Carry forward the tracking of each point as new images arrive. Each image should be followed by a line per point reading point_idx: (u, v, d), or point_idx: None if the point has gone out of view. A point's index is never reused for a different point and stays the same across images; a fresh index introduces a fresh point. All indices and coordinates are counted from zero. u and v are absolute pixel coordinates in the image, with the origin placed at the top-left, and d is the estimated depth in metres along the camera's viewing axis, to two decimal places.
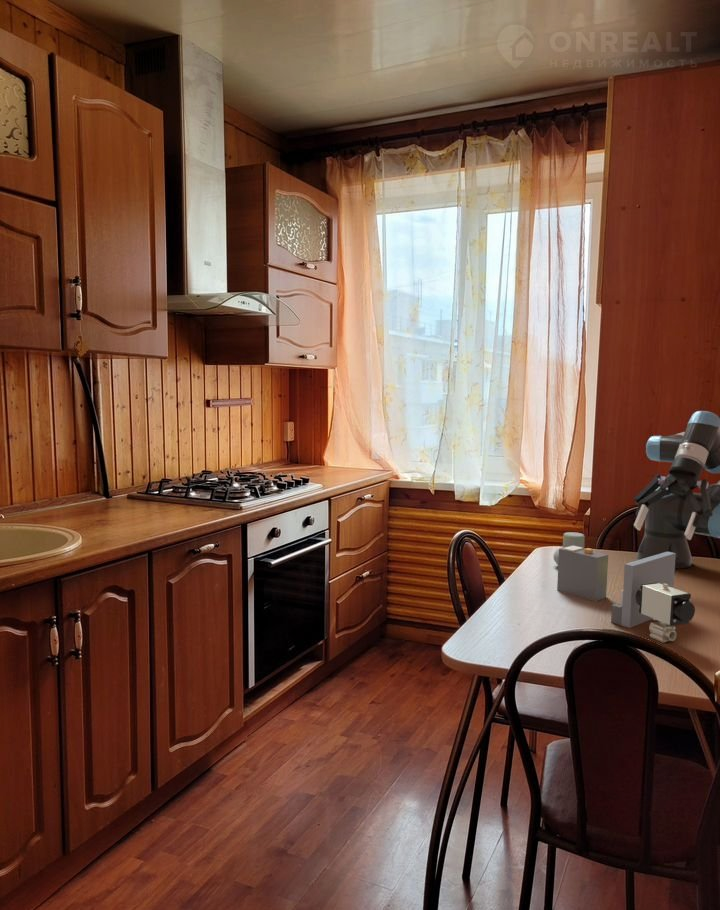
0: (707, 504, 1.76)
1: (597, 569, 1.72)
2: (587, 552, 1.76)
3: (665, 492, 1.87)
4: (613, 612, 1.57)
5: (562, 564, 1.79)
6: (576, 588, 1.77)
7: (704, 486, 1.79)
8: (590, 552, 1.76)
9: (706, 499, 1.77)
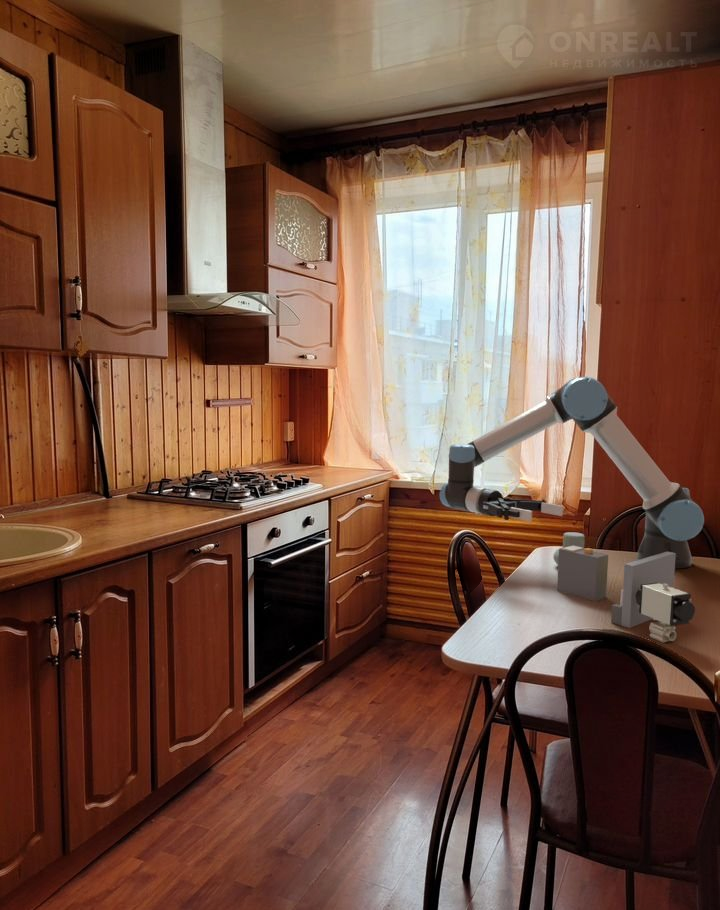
0: None
1: (597, 569, 1.72)
2: (587, 552, 1.76)
3: (518, 505, 1.96)
4: (613, 612, 1.57)
5: (562, 564, 1.79)
6: (576, 588, 1.77)
7: (488, 511, 1.92)
8: (590, 552, 1.76)
9: None
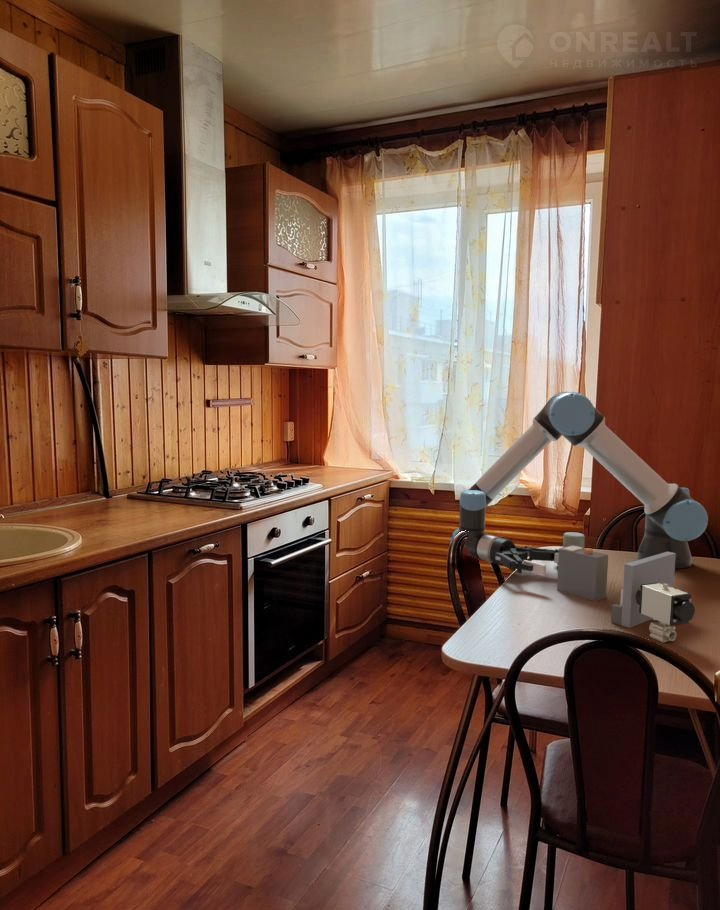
0: None
1: (597, 569, 1.72)
2: (587, 552, 1.76)
3: (531, 555, 1.93)
4: (613, 612, 1.57)
5: (562, 564, 1.79)
6: (576, 588, 1.77)
7: (500, 563, 1.89)
8: (590, 552, 1.75)
9: None
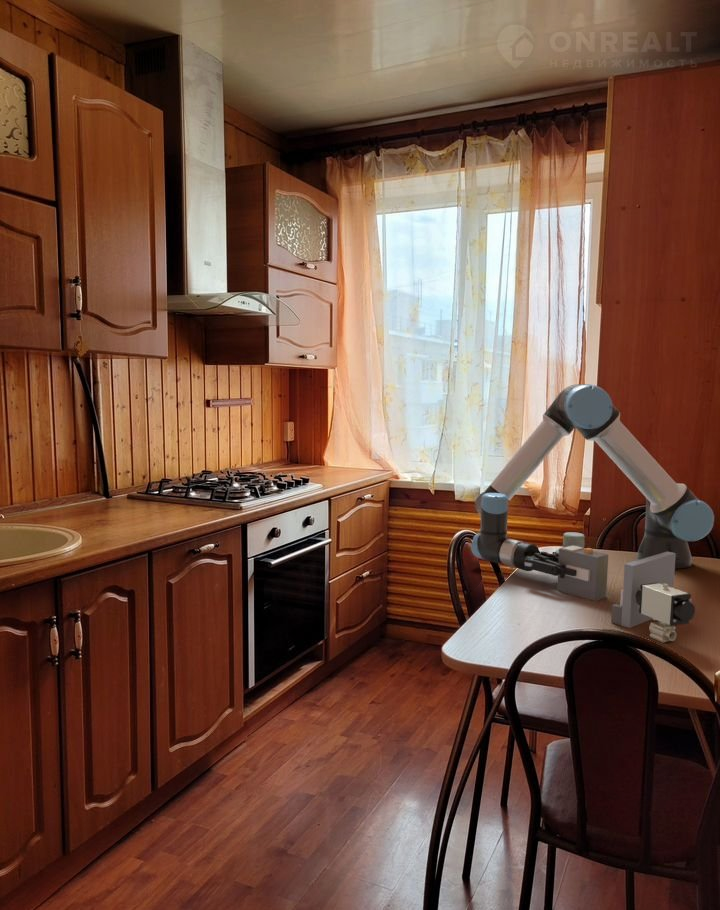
0: None
1: (597, 569, 1.72)
2: (587, 552, 1.76)
3: (554, 561, 1.86)
4: (613, 612, 1.57)
5: (562, 564, 1.79)
6: (576, 588, 1.77)
7: (532, 569, 1.83)
8: (590, 552, 1.75)
9: None
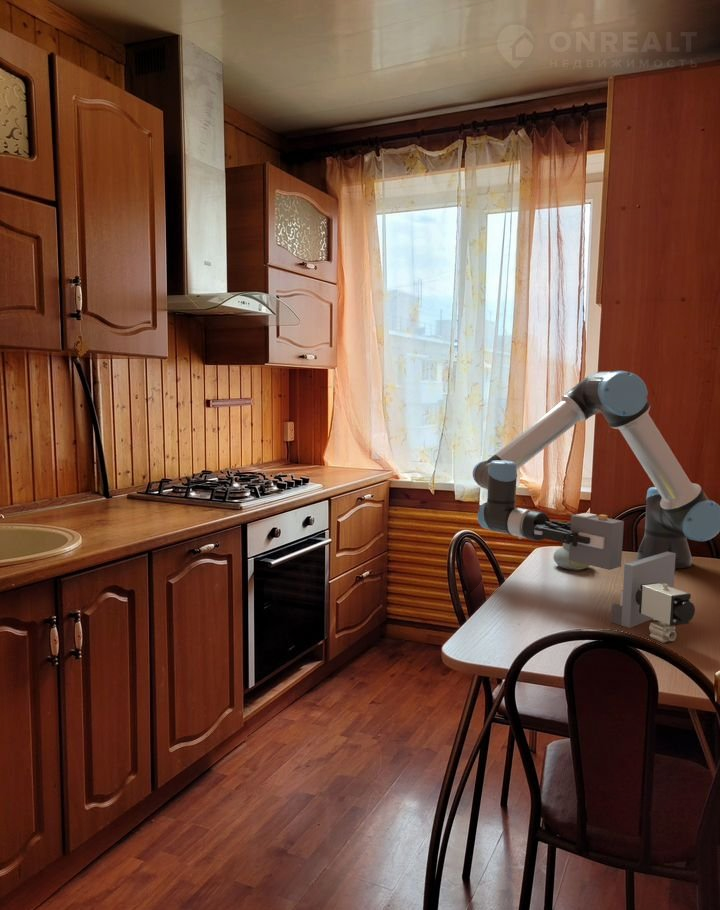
0: None
1: (612, 536, 1.62)
2: (601, 518, 1.66)
3: (566, 530, 1.76)
4: (613, 612, 1.57)
5: (575, 531, 1.69)
6: (590, 557, 1.67)
7: (542, 537, 1.73)
8: (604, 518, 1.66)
9: None
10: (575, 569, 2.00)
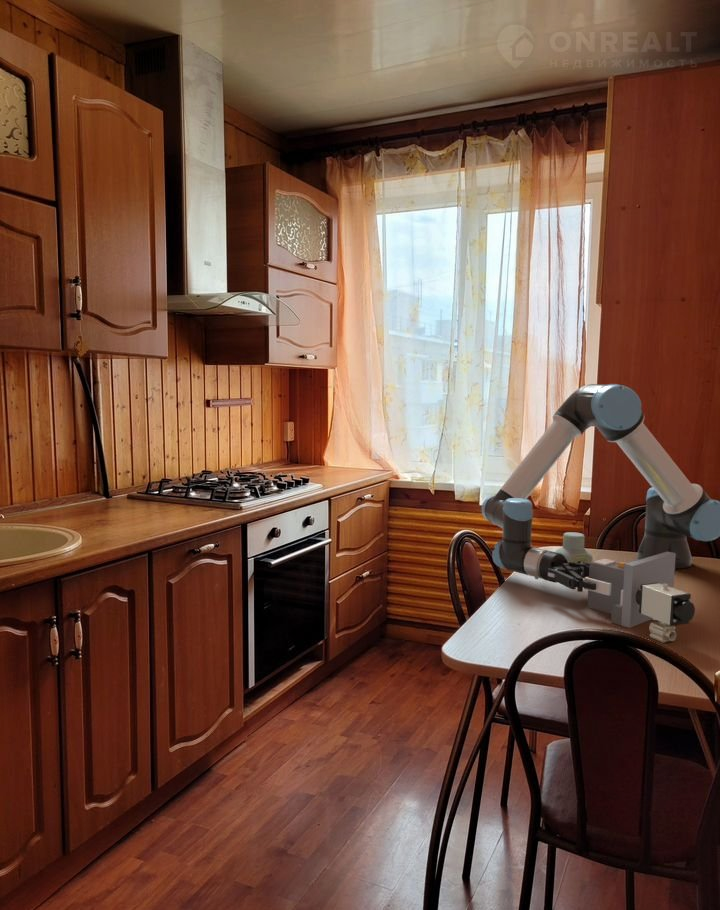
0: None
1: None
2: (621, 566, 1.63)
3: (585, 571, 1.74)
4: (613, 612, 1.57)
5: (593, 578, 1.66)
6: (609, 605, 1.64)
7: (554, 580, 1.70)
8: (624, 566, 1.62)
9: None
10: None
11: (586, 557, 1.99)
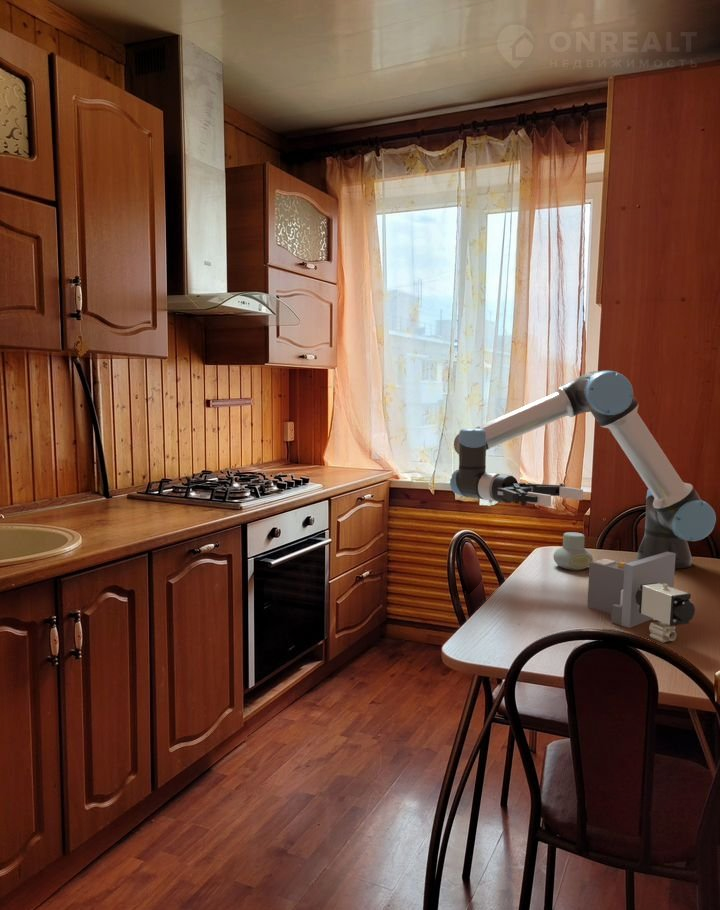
0: None
1: None
2: (621, 566, 1.63)
3: (535, 490, 1.84)
4: (613, 612, 1.57)
5: (593, 578, 1.66)
6: (609, 605, 1.64)
7: (503, 498, 1.80)
8: (624, 566, 1.62)
9: None
10: (575, 569, 2.00)
11: (586, 557, 1.99)
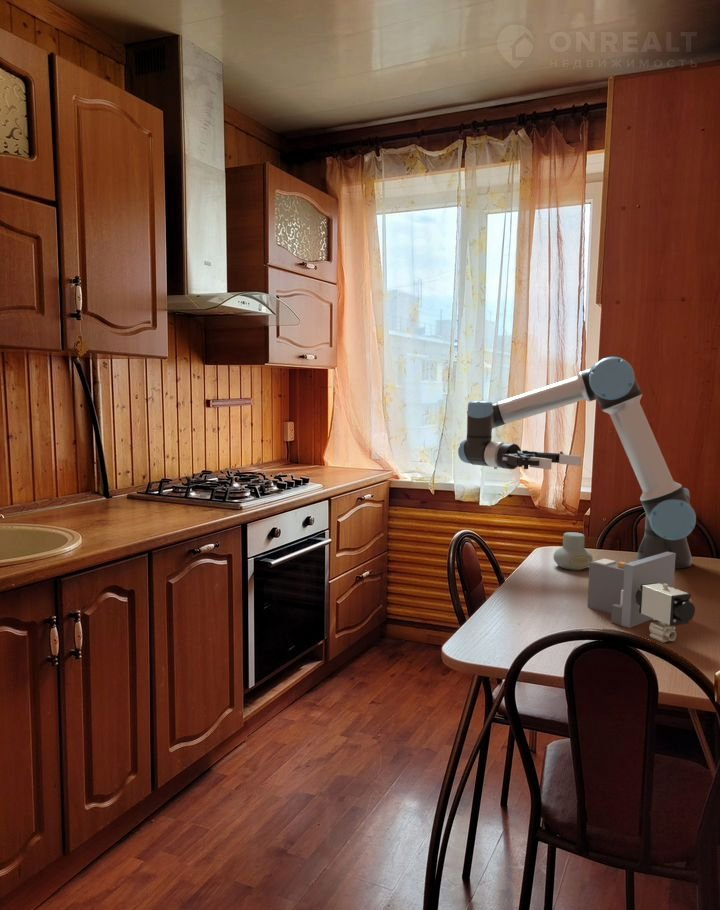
0: (516, 465, 1.91)
1: None
2: (621, 566, 1.63)
3: (536, 457, 2.00)
4: (613, 612, 1.57)
5: (593, 578, 1.66)
6: (609, 605, 1.64)
7: (507, 463, 1.96)
8: (624, 566, 1.62)
9: (514, 465, 1.92)
10: (575, 569, 2.00)
11: (586, 557, 1.99)
